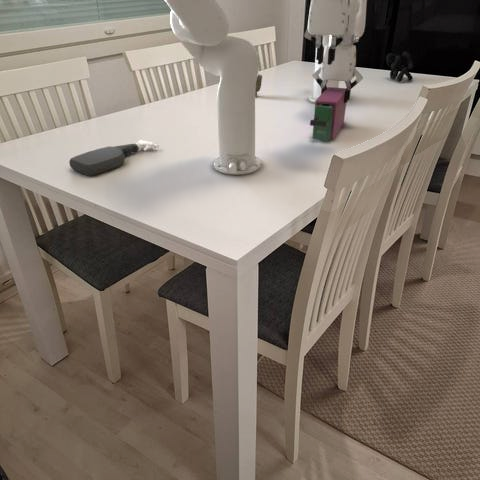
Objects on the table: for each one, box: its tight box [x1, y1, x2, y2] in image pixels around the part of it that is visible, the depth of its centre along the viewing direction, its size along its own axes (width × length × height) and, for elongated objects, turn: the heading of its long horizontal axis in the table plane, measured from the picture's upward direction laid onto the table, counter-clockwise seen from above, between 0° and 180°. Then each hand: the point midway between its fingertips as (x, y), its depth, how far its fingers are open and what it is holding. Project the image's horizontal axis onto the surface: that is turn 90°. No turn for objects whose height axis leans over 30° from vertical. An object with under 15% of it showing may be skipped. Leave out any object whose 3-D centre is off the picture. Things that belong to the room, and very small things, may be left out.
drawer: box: [309, 104, 334, 141], centre depth 136 cm, size 22×5×10 cm, turn 158°
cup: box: [255, 73, 263, 97], centre depth 179 cm, size 8×7×8 cm
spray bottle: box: [68, 139, 160, 177], centre depth 124 cm, size 3×11×24 cm
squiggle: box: [385, 51, 414, 83], centre depth 198 cm, size 11×10×15 cm
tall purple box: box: [313, 87, 347, 141], centre depth 140 cm, size 18×6×11 cm, turn 158°
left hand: (325, 63), depth 120 cm, fingers closed
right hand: (334, 100), depth 143 cm, fingers closed on tall purple box, 6 cm apart
